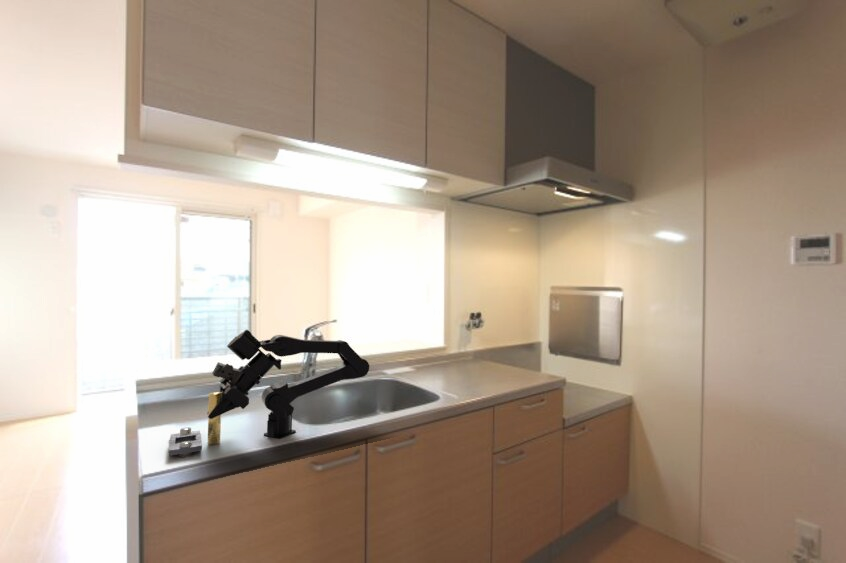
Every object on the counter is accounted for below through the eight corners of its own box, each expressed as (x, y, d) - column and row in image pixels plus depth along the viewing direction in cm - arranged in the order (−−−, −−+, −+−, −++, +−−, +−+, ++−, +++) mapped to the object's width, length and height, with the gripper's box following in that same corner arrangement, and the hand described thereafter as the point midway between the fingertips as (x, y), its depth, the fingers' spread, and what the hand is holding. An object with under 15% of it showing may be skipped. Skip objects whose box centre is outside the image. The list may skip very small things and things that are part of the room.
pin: (214, 439, 109) (216, 391, 110) (222, 441, 108) (224, 392, 108) (205, 443, 106) (206, 394, 107) (212, 445, 105) (214, 395, 106)
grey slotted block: (170, 438, 111) (171, 427, 111) (199, 434, 114) (199, 424, 114) (168, 460, 96) (168, 448, 96) (201, 455, 100) (202, 443, 100)
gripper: (229, 348, 118) (184, 389, 112) (236, 356, 102) (184, 405, 96) (257, 372, 122) (215, 414, 116) (268, 384, 106) (220, 433, 100)
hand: (208, 416), depth 107 cm, fingers closed on pin, 3 cm apart
